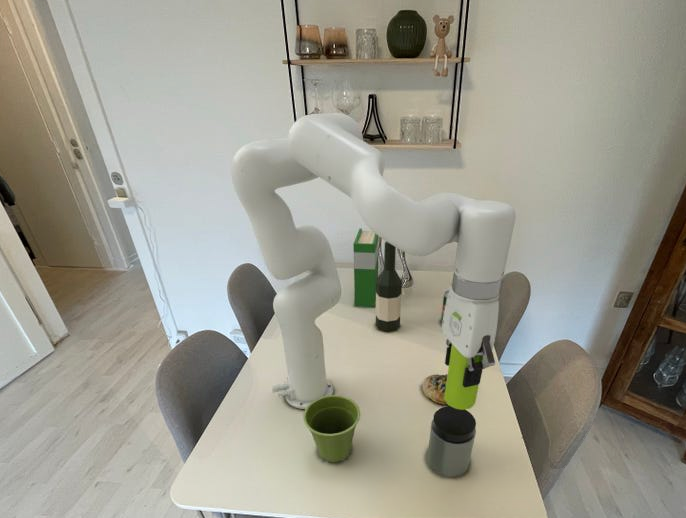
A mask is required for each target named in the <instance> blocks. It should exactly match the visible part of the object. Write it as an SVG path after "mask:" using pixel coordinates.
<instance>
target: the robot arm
mask: <svg viewBox="0 0 686 518" xmlns="http://www.w3.org/2000/svg"><path fill="white" fill-rule="evenodd" d="M385 165H386V163H385V157H384V155H383V153H382V152H381V150H379V149H378V148H377V147H375V146H373V145H371V144H369V143H368V142H366V141H364V136H363V133H362V129H361V127H360V125H359V124H358V122H357V121H356V119H354V118H353V117H351V115H348V114H346V113H342V112H326V113H325V112H322V113H311V114H306V115H304V116H302V117H300V118H298V119H296V120H295V121H294V122H293V124H292V125H291V126H290V129H289V131H288V134H287V137H278V138H267V139H266V138H265V139H260V140H256V141H251V142H249V143H247V144H245V145H243V146H241V147H240V148H239V149H238V150H237V151H236V153H235V154H234V156H233V158H232V161H231V166H230V167H231V169H230V170H231V171H230V172H231V174H230V175H231V181H232V185H233V188H234V191H235V193H236V195H237V197H238V199H239V201H240V203H241V205H242V207H243V208H244V210H245V213H246V214H247V216H248V218H249V220H250V221H249V222H250V223H251V226H252V229H253V232H254V235H255V238H256V241H257V245H258V247H259V249H260V253H261V255H262V259H263V261H264V264H265V266H266V269H267V271H268V273H269V274H270V276H271V277H272V278H274V279H276V280H279V281H287V280H289V279H293V278H295V277H297V276H300V275H301V274H304V273H305V276H304V277H302V278H299V279H298V280H296V281H293V282H292V283H290V284H287V285H286V286H284V287H283V288H281V289H280V290H279V291H278V292H277V293H276V295H275V296H274V298H273V302H272V307H273V312H274V314H275V317H276V320H277V322H278V325H279V328H280V329H279V330H280V333H281V337H282V344H283V349H284V355H285V363H286V369H287V375H288V377H286V381H283V383H280V384H279V383H277V384H273V385H272V384H271V390H272V393H274V394H275V393H277V396H278V398H280V397H284V396H285V400H286V402H287V403H288V404H289V405H290V406H292V407H293V408H296V409H300V410H305V409H306V408H307V406H308V405H309V404H310V403H311V402H313V401H314V400H316V399H318V398H320V397H324V396H328V395H334V387H333V384H332V383H331V382H330V380H328V379H327V374H326V357H325V346H324V337H323V333H322V330H321V329H320V328H319V327H318V326H317V324H316V320H317V318H319V317H320V316H321V315H323V314H325V313H326V312H328V311H329V310H331V309H332V308H334V307H335V306H337V304H338V303H339V302H340V300H341V297H342V285H341V281H340V277H339V273H338V270H337V266H336V261H335V258H334V254H333V251H332V248H331V245H330V242H329V240H328V238H327V236H326V235H325V234H324V232H323V231H322V230H321V229H319V228H318V227H316V226H314V225H309V224H307V225H306V224H305V225H301V226H297V227H296V224H295V221H294V218H293V214H292V211H291V209H290V207H289V206H288V204H287V203H286V202H285V200H284V198H283V197H281V196H280V195H279V194H278V193H277V192H276V190H278V189H281V188H286V187H291V186H294V185H299V184H303V183H307V182H310V181H313V180H315V179H317V178H319V179H322V180H323V181H325V182H326V183H328V184H329V185H331V186H332V187H334V188H335V189H338V191H340V192H341V193H343V194H344V195H346V196H348V197H349V198H350V199H351V200H352V201H353V202H354V205H355V208H356V210H357V213H358V214H359V216H360V217H361V219H362V221H363V222H364V223H365V226H366V227H368V228H369V229H370V231H373V232H374V233H375V234H377V235H378V236H379V238H381V239H382V240H384V241H385V242H386V241H387V242H389V243H390V244H392V245H393V246H395V247H396V249H398V250H400V251H402V252H403V253H406V254H408V255H411V256H415V257H426V256H429V255H432V254H433V253H435V252H437V251H439V250H440V249H441V248H443V247H445V246H446V245H448V244H452V243H455V242H456V243H457V245H456V253H455V259H454V268H453V276H452V282H451V285H450V287H449V289H448V290H449V293H448V297H447V300H446V305H445V310H444V316H443V322H442V324H441V331H442V332H441V333H442V334H443V336H445V338H446V341H445V345H446V346H447V347H446V351H445V360H444V365H445V366H448V367H449V361H450V354H451V347H452V344H453V345H454V347H455V348H456V349H457V350H458V351H459V352H460V353H461V354H462V355H463V356H465V357H466V358H467V360H468V367H467V368H465V372H464V378H463V384H462V385H463V386H464V387H470V386H474V385H478V384H479V385H480V384H481V380H482V374H483V370H485V369H487V368H490V367H494V366H495V365H496V361H495V356H494V353H493V349H494V346H495V341H496V337H497V331H498V323H499V309H500V308H499V307H500V300H499V298H500V295H501V291H502V290H501V289H502V285H503V281H504V276H505V271H506V265H507V261H508V256H509V251H510V246H511V243H512V242H511V241H512V236H513V233H514V232H513V231H514V227H515V224H516V223H515V222H516V211H515V209H514V207H513V206H511V205H510V204H509V203H507V202H502V201H498V200H487V199H486V200H483V199H482V200H478V199H474V198H472V197H468V196H465V195H463V194H460V193H456V192H450V191H443V192H439V193H436V194H434V195H432V196H431V195H430V196H429V197H426V198H423V199H421V200H419V201H416V200H414V199H412V198H411V197H409V196H408V195H406V194H404V193H403V192H400V191H399V190H398V189H396V188H395V187H394V186H392V185H391V184H390V183H388V181H386V179H384V177H383V176H384V173H385ZM454 312H457V313H458V314H459V315H460V316H461V320H459V319H458V318H457V317H455V316H454V315H453V314H452V313H454ZM475 356H479V362H476V363H474V357H475Z"/></svg>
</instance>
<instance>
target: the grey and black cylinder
mask: <svg viewBox="0 0 686 518" xmlns="http://www.w3.org/2000/svg"><path fill="white" fill-rule="evenodd" d="M430 423H431V424H430V430H429V431H430V432H429V438H428V446H427V455H426V459H427V464H428V466H429V467H430V468H431V470H432V471H434V472H435V473H436V474H438V475H440V476H443V477H446V478H458V477H460V476H462V475H464V474H465V473H466V472H467V471H468V469H469V467H470V461H471V458H472V453H473V448H474V445H475V444H474V443H475V438H476V434H477V428H476V427H477V421H476V418H475V417H474V415H473V414H472V413H471V412H470V411H468V409H465V410H460V409H455V408H453V407H451V406H449V405H446V406H442V407H440V408H438V409H437V410H436V411H435V412H434V414H433V418H432V420H431V422H430Z"/></svg>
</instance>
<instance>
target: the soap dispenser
mask: <svg viewBox="0 0 686 518" xmlns="http://www.w3.org/2000/svg"><path fill="white" fill-rule="evenodd" d="M452 314H453V315H454V316H455V317H457V318H458V319H459V320H461V316H460V315H459V314H458V313H457V312H454V313H452ZM476 362H479V356H475V357H474V363H476ZM467 367H468V360H467V358H466V357H465V356H463V355H462V354H461V353H460V352H459V351H458V350H457V349H456V348H455V347H454V345H453V344H452V347H451V354H450V361H449V366H448V367H447V382H446V389H445V396H444V399H445V401H446V403H447V404H446V405H447V406H451V407H453V408H455V409H460V410H470V409H471V408H473V407H474V406H475V404H476V399H477V395H478V390H479V385H480V384H478V385H474V386H470V387H464V386H463V385H462V384H463V378H464V372H465V368H467Z"/></svg>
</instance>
